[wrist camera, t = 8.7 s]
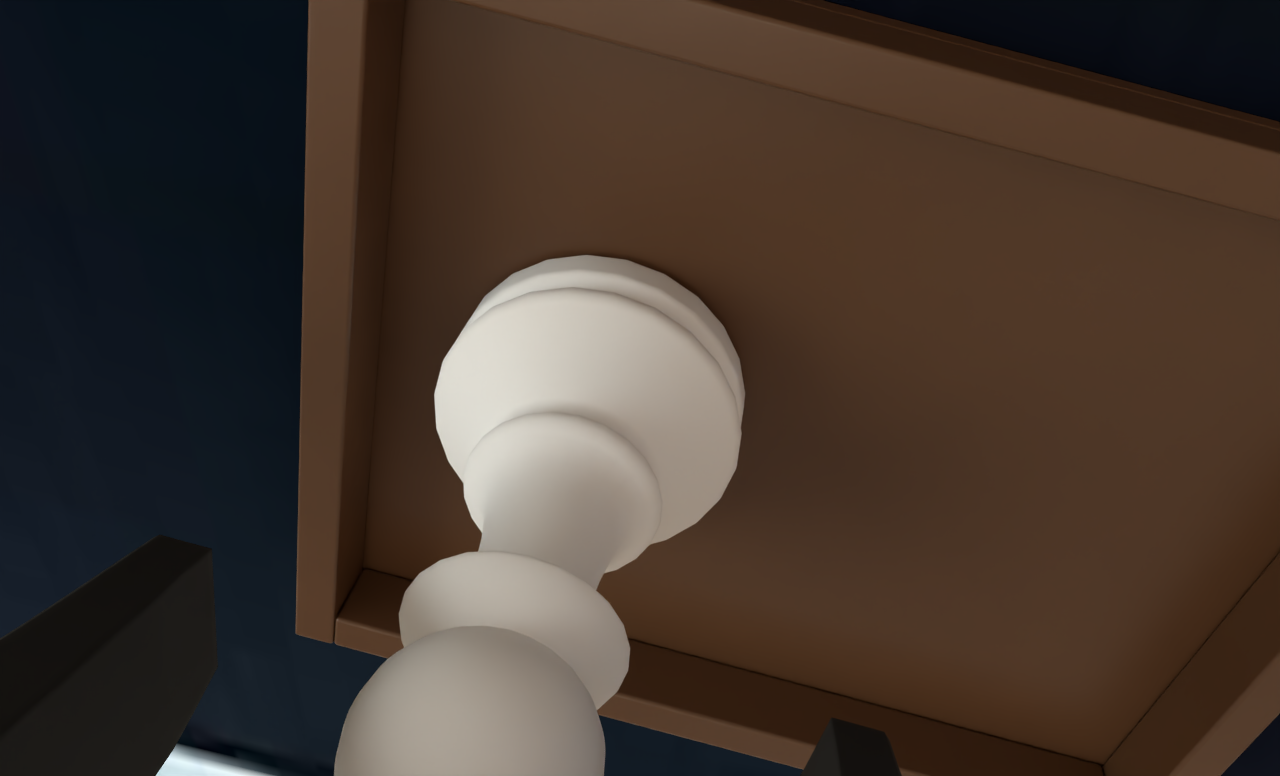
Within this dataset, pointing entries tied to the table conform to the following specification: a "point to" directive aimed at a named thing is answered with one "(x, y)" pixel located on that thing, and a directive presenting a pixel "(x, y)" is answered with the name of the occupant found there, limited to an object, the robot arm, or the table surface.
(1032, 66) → the tray
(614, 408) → the chess pawn
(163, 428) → the table surface
